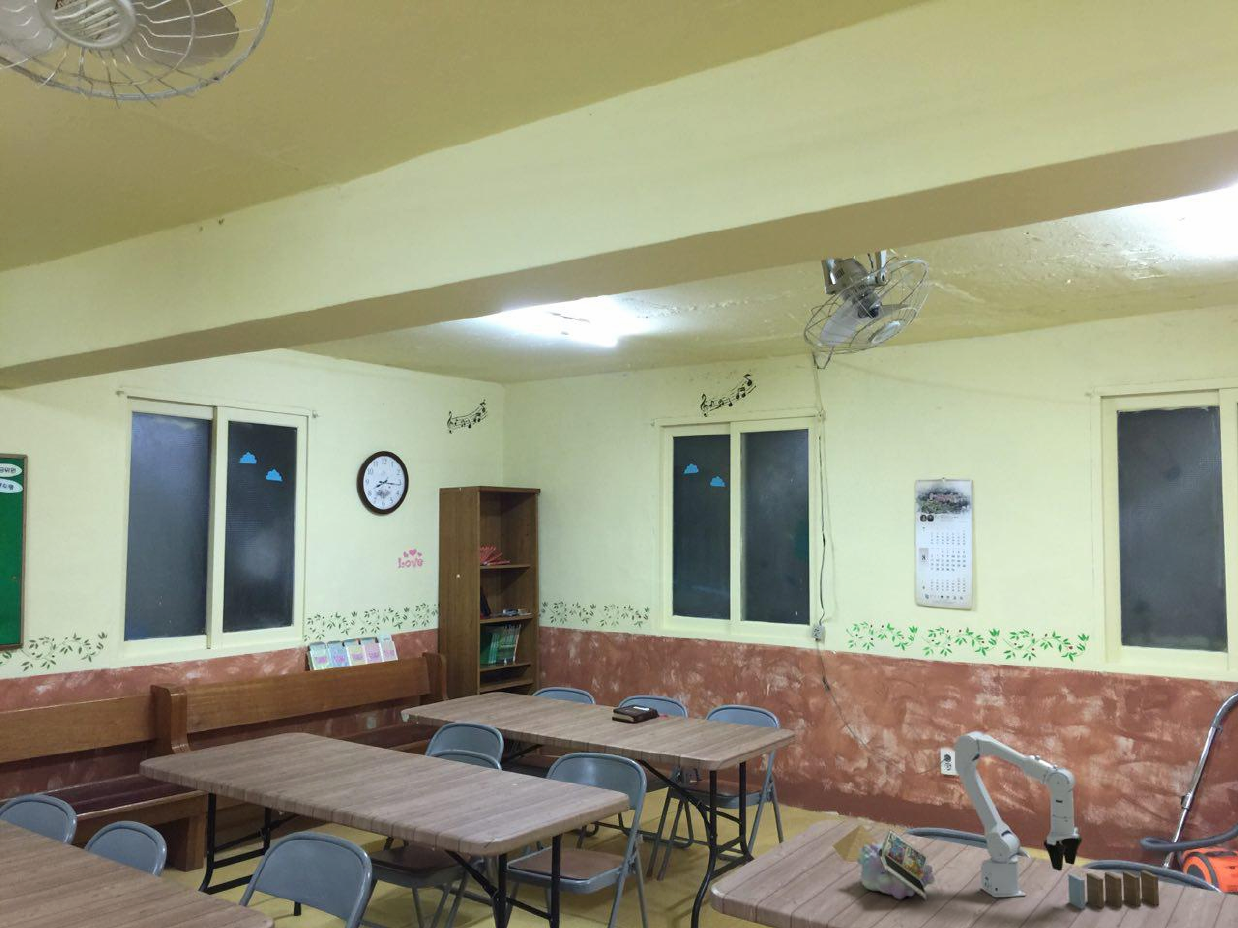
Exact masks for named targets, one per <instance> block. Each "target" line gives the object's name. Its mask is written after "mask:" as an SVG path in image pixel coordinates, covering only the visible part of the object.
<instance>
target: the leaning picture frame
mask: <svg viewBox="0 0 1238 928" xmlns="http://www.w3.org/2000/svg"><path fill="white" fill-rule="evenodd" d="M859 855H860V856H862V857H861V858H857V862H858V863H859V865H861V867H862V868H861V871H860V872H861V873H860V877H861V884H862V885H863V886H864V887H865V888H866V889H867V890H870V891H872V892H881V893H882V894H885V895H889V896H890V895H892V896H893V897H894V899H897V900H903V899H905V897H913V896H914V894H915V893H917V894H918V895H919V896H920V897H922V898H923V899H925V900H927V897H926V891H925V888H926V887H927V886H929V885H932V884H934V883H935V882H936V881H935V879H936V878H935V876H934V875H933V866H932V865H930V864H927V862H928V858H929V856H927V854H925V853H924V852H923V851H922V850H920V849H918V848H917V847H916V846H914V845H913V844H912V843H911V842H910V841H908V840H907V839H906V838H904V837H903V836H902V835H900V834H898V833H897V832H895V830H893V829H892V828H890V827H888V829H887V832H886V834H885V837H884V840H883V842H882V843H878V845H877V844H875V843H874V842H872V844H871V846H870V847H869V846H868V845H863V848H861V849H859Z"/></svg>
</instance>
